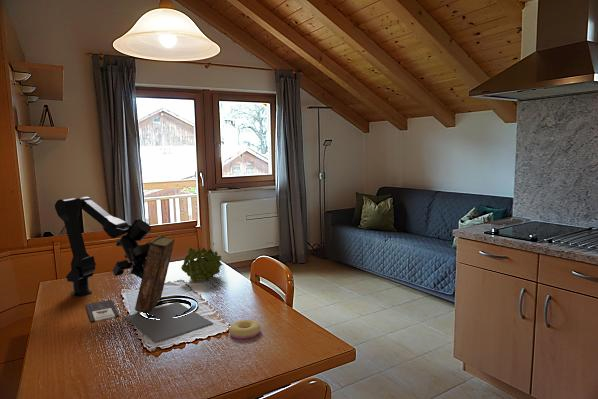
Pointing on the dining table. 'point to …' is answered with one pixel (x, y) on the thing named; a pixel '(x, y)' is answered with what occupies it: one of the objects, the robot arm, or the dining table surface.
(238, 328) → the donut
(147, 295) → the book
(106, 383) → the dining table surface
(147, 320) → the mat
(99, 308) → the chocolate bar
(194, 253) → the green leafy plant
